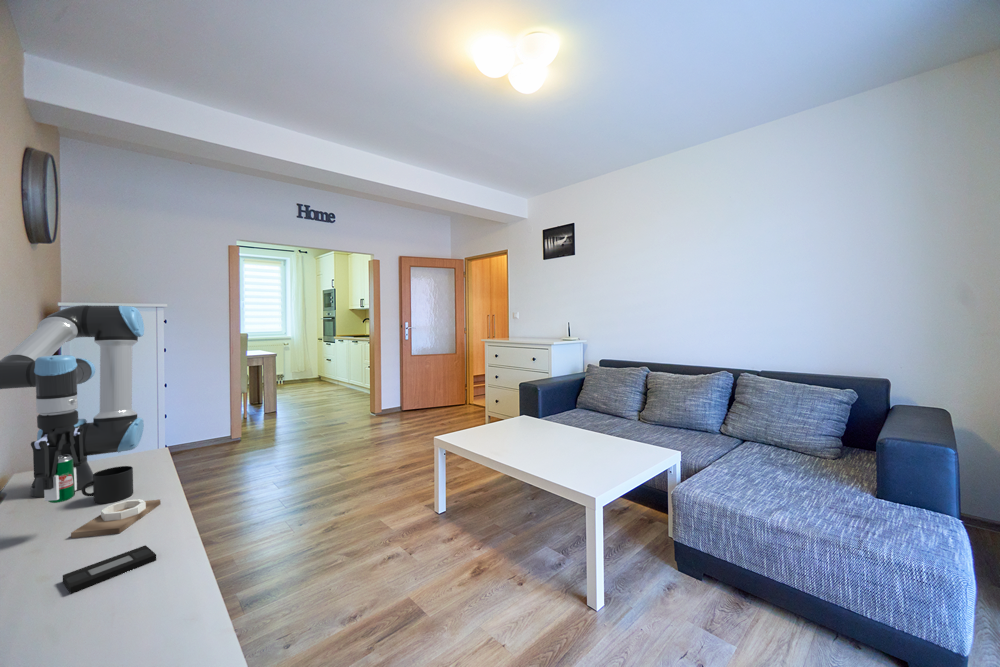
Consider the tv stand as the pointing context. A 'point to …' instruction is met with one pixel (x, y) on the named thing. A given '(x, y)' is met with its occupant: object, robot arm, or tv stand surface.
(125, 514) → the socket ring
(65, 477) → the soda can
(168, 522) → the tv stand surface
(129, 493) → the mug
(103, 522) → the walnut board
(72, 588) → the vhs tape
